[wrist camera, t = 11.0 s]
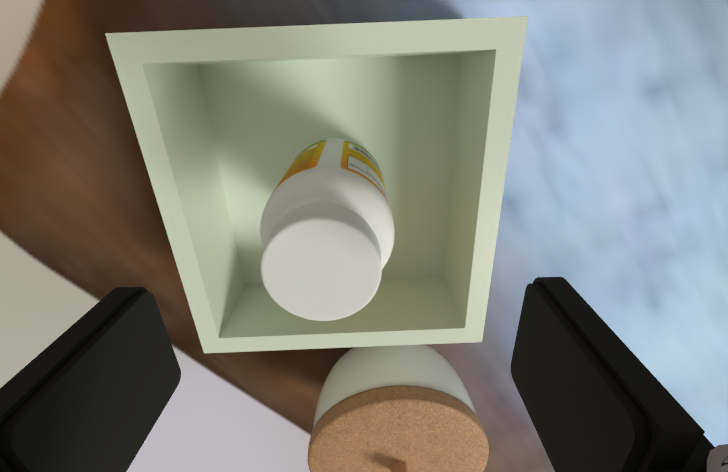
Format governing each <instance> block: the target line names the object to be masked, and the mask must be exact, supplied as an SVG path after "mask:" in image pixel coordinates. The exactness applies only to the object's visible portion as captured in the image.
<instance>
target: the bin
mask: <svg viewBox="0 0 728 472" xmlns="http://www.w3.org/2000/svg"><path fill="white" fill-rule="evenodd" d="M527 21H528V16H522V17H497V18H472V19H448V20H423V21H398V22H373V23H349V24H324V25H299V26H274V27H250V28H225V29H200V30H175V31H151V32H126V33H105V35H106V38H107V41H108V45H109V48H110V51H111V54H112V58H113V61H114V64H115V67H116V71H117V74H118V77H119V80H120V83H121V87H122V90H123V93H124V96H125V100H126V103H127V106H128V109H129V112H130V116H131V119H132V122H133V125H134V129H135V132H136V135H137V138H138V142H139V145H140V148H141V151H142V154H143V158H144V161H145V164H146V167H147V171H148V174H149V177H150V180H151V184H152V187H153V190H154V193H155V196H156V200H157V203H158V206H159V209H160V213H161V216H162V219H163V222H164V225H165V229H166V232H167V235H168V238H169V242H170V245H171V248H172V251H173V255H174V258H175V261H176V264H177V267H178V271H179V274H180V277H181V280H182V284H183V287H184V290H185V293H186V297H187V300H188V303H189V306H190V309H191V313H192V316H193V319H194V322H195V326H196V329H197V332H198V335H199V338H200V342H201V345H202V348H203V351H204V353H224V352H248V351H273V350H297V349H322V348H347V347H371V346H396V345H420V344H445V343H469V342H482V338H483V331H484V324H485V317H486V310H487V303H488V296H489V288H490V281H491V274H492V267H493V260H494V253H495V246H496V239H497V232H498V225H499V218H500V211H501V204H502V197H503V190H504V183H505V176H506V169H507V162H508V155H509V148H510V141H511V134H512V127H513V119H514V112H515V105H516V98H517V91H518V84H519V77H520V70H521V63H522V56H523V49H524V42H525V35H526V28H527ZM329 138H340V139H346V140H350V141H352V142H355V143H357V144H359V145H360V146H362V147H364V148H365V149H366V150H367V151H368V152H369V153H370V154H371V155H372V156H373V157H374V159H375V160H376V162H377V163H378V165H379V167H380V170H381V172H382V175H383V179H384V183H385V187H386V191H387V196H388V200H389V204H390V208H391V212H392V216H393V222H394V244H393V248H392V252H391V255H390V257H389V259H388V261H387V263H386V265H385V266H384V268H383V269H382V274H381V280H380V284H379V287H378V289H377V292H376V293H375V295H374V296H373V298H372V299H371V300H370V302H369V303H368V304H367V305H365V306H364V307H363V308H362V309H361V310H359V311H357V312H356V313H354V314H352V315H350V316H347V317H344V318H341V319H337V320H330V321H317V320H309V319H305V318H302V317H299V316H296V315H294V314H292V313H290V312H288V311H287V310H285V309H284V308H282V307H281V306H280V305H278V304H277V303H276V302H275V301H274V300H273V298H272V297H271V296H270V295H269V293H268V292H267V290H266V288H265V286H264V283H263V280H262V277H261V270H260V265H261V257H262V253H263V250H264V249H263V246H262V242H261V236H260V224H261V218H262V214H263V211H264V208H265V206H266V204H267V202H268V200H269V198H270V196H271V194H272V193H273V191H274V190H275V189H276V187H277V186H278V184H279V183H280V181H281V180H282V178H283V177H284V175H285V174H286V172H287V171H288V169H289V167H290V166H291V164H292V163H293V161H294V160H295V158H296V157H297V156H298V155H299V154H300V153H301V152H302V151H303V150H304V149H305V148H306V147H308V146H309V145H311V144H313V143H315V142H317V141H320V140H323V139H329Z"/></svg>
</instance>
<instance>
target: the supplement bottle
mask: <svg viewBox="0 0 728 472" xmlns="http://www.w3.org/2000/svg"><path fill="white" fill-rule="evenodd" d="M260 236H261V242H262V246H263V249H264V250H263V253H262V257H261V265H260V270H261V277H262V280H263V283H264V286H265V288H266V290H267V292H268V293H269V295H270V296H271V297H272V298H273V300H274V301H275V302H276V303H277V304H278V305H280V306H281V307H282V308H284V309H285V310H287V311H288V312H290V313H292V314H294V315H296V316H299V317H302V318H305V319H309V320H317V321H330V320H337V319H341V318H344V317H347V316H350V315H352V314H354V313H356V312H357V311H359V310H361V309H362V308H363V307H364V306H365V305H367V304H368V303H369V302H370V300H371V299H372V298H373V296H374V295H375V293H376V292H377V289H378V287H379V284H380V280H381V274H382V269H383V268H384V266H385V265H386V263H387V261H388V259H389V257H390V255H391V252H392V248H393V244H394V222H393V216H392V212H391V208H390V204H389V200H388V196H387V191H386V187H385V183H384V179H383V175H382V172H381V170H380V167H379V165H378V163H377V162H376V160H375V159H374V157H373V156H372V155H371V154H370V153H369V152H368V151H367V150H366V149H365V148H364V147H362V146H360V145H359V144H357V143H355V142H352V141H350V140H346V139H340V138H329V139H323V140H320V141H317V142H315V143H313V144H311V145H309V146H308V147H306V148H305V149H304V150H303V151H302V152H301V153H300V154H299V155H298V156H297V157H296V158H295V160H294V161H293V163H292V164H291V166H290V167H289V169H288V171H287V172H286V174H285V175H284V177H283V178H282V180H281V181H280V183H279V184H278V186H277V187H276V189H275V190H274V191H273V193H272V194H271V196H270V198H269V200H268V202H267V204H266V206H265V208H264V211H263V214H262V218H261V224H260Z"/></svg>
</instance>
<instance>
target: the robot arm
mask: <svg viewBox="0 0 728 472" xmlns="http://www.w3.org/2000/svg"><path fill="white" fill-rule="evenodd" d="M511 374H512V378H513V380H514V383H515V385H516V387H517V389H518V391H519V394H520V396H521V398H522V400H523V402H524V404H525V407H526V409H527V411H528V413H529V415H530V418H531V420H532V422H533V424H534V426H535V428H536V431H537V433H538V435H539V437H540V439H541V442H542V444H543V446H544V448H545V450H546V453H547V455H548V457H549V459H550V461H551V463H552V466H553V468H554V470H555V472H728V444H726V445H718V446H717V447H714V446H713V445H712V444H711V443H710V442H709V441H708V439H707V438H706V437H705V436H704V435H703V434H704V430H703V429H702V428H701V427H700V426H699V425H698V424H697V423H696V422H695V421H694V419H693V418H692V417H691V416H690V415H689V414H688V413H687V412H686V411H685V410H684V409H683V407H682V406H681V405H680V404H679V403H678V402H677V401H676V400H675V399H674V398H673V397H672V395H671V394H670V393H669V392H668V391H667V390H666V389H665V388H664V387H663V386H662V385H661V383H660V382H659V381H658V380H657V379H656V378H655V377H654V376H653V375H652V374H651V372H650V371H649V370H648V369H647V368H646V367H645V366H644V365H643V364H642V363H641V362H640V360H639V359H638V358H637V357H636V356H635V355H634V354H633V353H632V352H631V351H630V350H629V348H628V347H627V346H626V345H625V344H624V343H623V342H622V341H621V340H620V339H619V337H618V336H617V335H616V334H615V333H614V332H613V331H612V330H611V329H610V328H609V327H608V325H607V324H606V323H605V322H604V321H603V320H602V319H601V318H600V317H599V316H598V315H597V313H596V312H595V311H594V310H593V309H592V308H591V307H590V306H589V305H588V304H587V303H586V301H585V300H584V299H583V298H582V297H581V296H580V295H579V294H578V293H577V292H576V290H575V289H574V288H573V287H572V286H571V285H570V284H569V283H568V282H567V281H566V280H565V279H564V278H563V277H538V278H536V279H535V280H534V282H533V284H528V285H527V287H526V291H525V296H524V301H523V306H522V311H521V316H520V321H519V326H518V331H517V336H516V341H515V346H514V351H513V356H512V361H511ZM180 377H181V371H180V367H179V364H178V362H177V359H176V356H175V354H174V350H173V348H172V345H171V342H170V339H169V337H168V334H167V331H166V328H165V326H164V323H163V320H162V317H161V315H160V312H159V309H158V306H157V303H156V301H155V298H154V296H153V294H151V293H149V292H148V291H147V290H146V289H145V288H143V287H118V288H115V289H114V290H112V291H111V292H110V293H109V294H108V295H106V296H105V297H104V298H103V299H102V300H101V301H100V302H99V303H97V304H96V305H95V306H94V307H93V308H92V309H91V310H89V311H88V312H87V313H86V314H85V315H84V316H83V317H81V318H80V319H79V320H78V321H77V322H76V323H75V324H73V325H72V326H71V327H70V328H69V329H68V330H67V331H66V332H64V333H63V334H62V335H61V336H60V337H59V338H57V339H56V340H55V341H54V342H53V343H52V344H51V345H49V346H48V348H46V349H45V350H44V351H43V352H42V353H40V354H39V355H38V356H37V357H36V358H35V359H33V360H32V361H31V362H30V363H29V364H28V365H27V366H25V367H24V368H23V369H22V370H21V371H20V372H19V373H18V374H16V375H15V376H14V377H13V378H12V379H11V380H10V381H8V382H7V383H6V384H5V385H4V386H3V387H2V388H1V389H0V472H126V471H127V469H128V468H129V466H130V464H131V463H132V461H133V460H134V458H135V456H136V454H137V453H138V451H139V449H140V448H141V446H142V444H143V443H144V441H145V439H146V438H147V436H148V434H149V433H150V431H151V429H152V428H153V426H154V424H155V423H156V421H157V419H158V418H159V416H160V414H161V413H162V411H163V409H164V408H165V406H166V404H167V402H168V401H169V399H170V397H171V396H172V394H173V393H174V391H175V389H176V388H177V386H178V384H179V381H180Z"/></svg>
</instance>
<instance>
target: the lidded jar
mask: <svg viewBox="0 0 728 472" xmlns="http://www.w3.org/2000/svg"><path fill="white" fill-rule="evenodd" d="M488 454H489V446H488V440H487V437H486V434H485V432H484V429H483V426H482V424H481V422H480V420H479V418H478V417H477V415H476V412H475V409H474V407H473V404H472V402H471V399H470V396H469V394H468V392H467V390H466V388H465V386H464V384H463V382H462V380H461V379H460V377H459V376H458V374H457V373H456V371H455V370H454V368H453V367H452V365H451V364H450V363H449V362H448V361H447V360H446V359H445V358H444V357H443V356H442V355H441V354H440V353H439V352H437V351H436V350H434V349H433V348H432V347H430V346H428V345H427V344H420V345H396V346H371V347H353V348H351V349H350V350H349V351H347V352H346V353H345V354H344V355H343V356H342V357H341V358H340V359H339V360H338V361H337V362H336V364H335V365H334V366H333V368H332V369H331V371H330V373H329V374H328V376H327V378H326V380H325V383H324V385H323V388H322V390H321V393H320V397H319V401H318V404H317V408H316V412H315V418H314V424H313V431H312V434H311V438H310V442H309V448H308V465H309V469H310V472H483V471H484V468H485V466H486V463H487V460H488Z"/></svg>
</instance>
